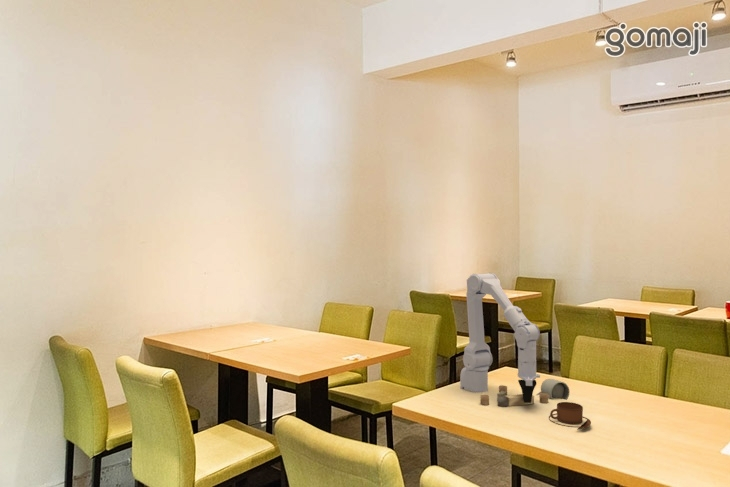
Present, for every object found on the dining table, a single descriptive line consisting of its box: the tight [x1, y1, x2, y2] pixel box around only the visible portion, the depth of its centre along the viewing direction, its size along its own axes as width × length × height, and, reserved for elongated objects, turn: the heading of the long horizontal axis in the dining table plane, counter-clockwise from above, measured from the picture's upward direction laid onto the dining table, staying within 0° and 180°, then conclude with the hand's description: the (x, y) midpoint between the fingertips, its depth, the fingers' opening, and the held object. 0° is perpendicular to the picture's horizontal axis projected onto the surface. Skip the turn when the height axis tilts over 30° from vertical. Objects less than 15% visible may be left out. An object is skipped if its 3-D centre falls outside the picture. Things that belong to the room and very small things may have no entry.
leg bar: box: [497, 393, 535, 408], centre depth 180 cm, size 13×3×3 cm, turn 107°
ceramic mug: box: [536, 378, 570, 400], centre depth 189 cm, size 10×8×7 cm
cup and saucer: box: [548, 401, 592, 430], centre depth 164 cm, size 12×12×6 cm
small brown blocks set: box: [479, 384, 549, 407], centre depth 181 cm, size 18×18×4 cm
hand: (527, 402), depth 178 cm, fingers closed, pressing on leg bar
